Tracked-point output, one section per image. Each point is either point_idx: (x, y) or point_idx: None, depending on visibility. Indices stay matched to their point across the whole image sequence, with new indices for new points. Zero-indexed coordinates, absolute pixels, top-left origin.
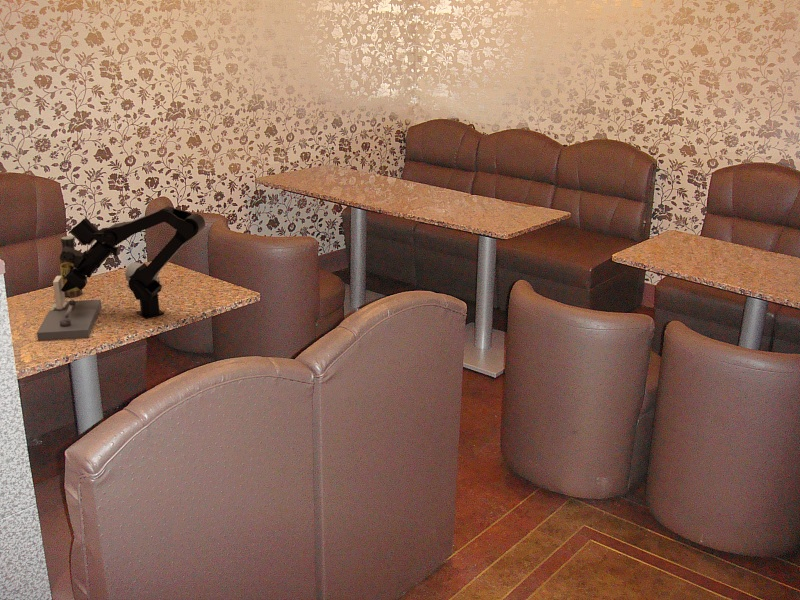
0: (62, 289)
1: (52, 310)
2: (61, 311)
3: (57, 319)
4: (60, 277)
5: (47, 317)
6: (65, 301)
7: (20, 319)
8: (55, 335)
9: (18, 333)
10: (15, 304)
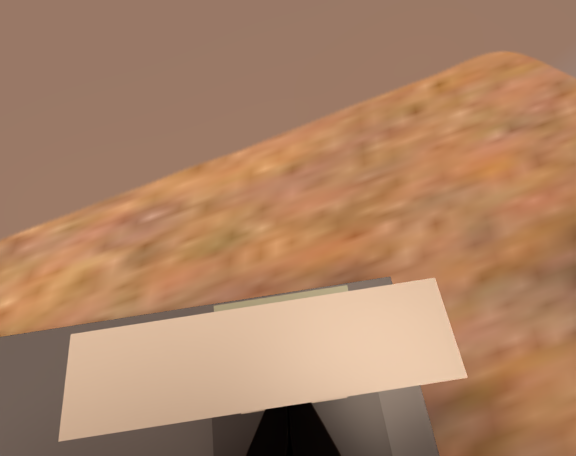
0: (265, 415)
1: None
2: None
3: (18, 430)
4: (349, 390)
5: None
6: None
7: (224, 169)
8: None
9: (33, 227)
10: (423, 80)
